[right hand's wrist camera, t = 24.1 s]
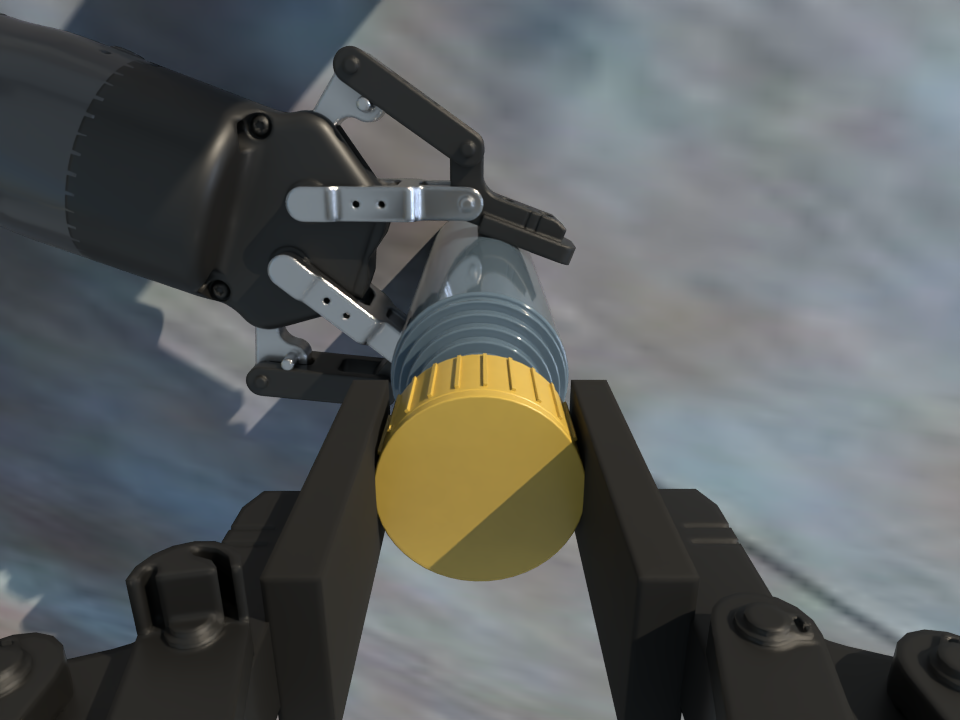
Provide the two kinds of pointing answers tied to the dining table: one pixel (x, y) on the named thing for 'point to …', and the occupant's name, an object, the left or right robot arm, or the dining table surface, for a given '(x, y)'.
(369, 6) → the dining table surface
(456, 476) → the cap
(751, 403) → the dining table surface
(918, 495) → the dining table surface
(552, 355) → the bottle
